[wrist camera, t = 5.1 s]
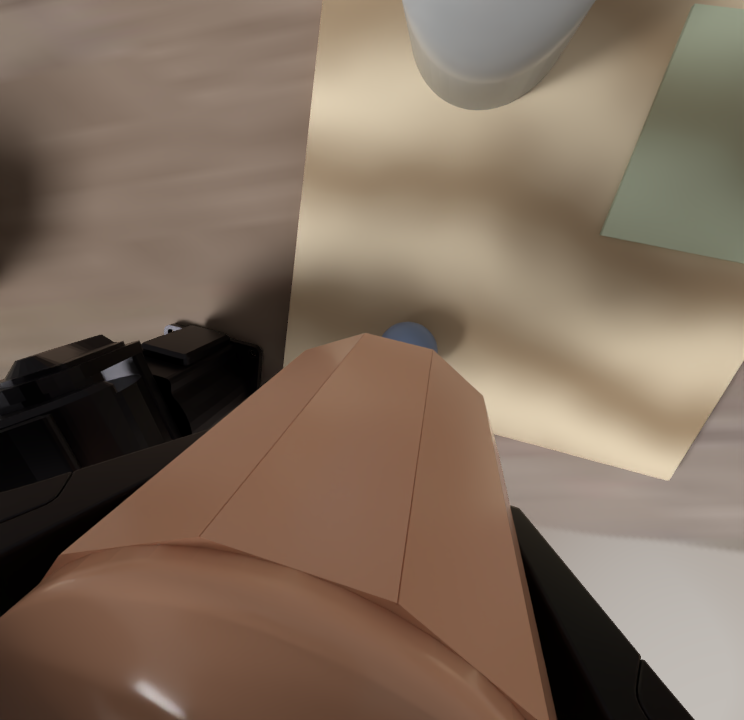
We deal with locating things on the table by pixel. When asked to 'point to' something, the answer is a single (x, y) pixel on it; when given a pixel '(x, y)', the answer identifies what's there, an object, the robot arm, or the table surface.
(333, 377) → the peach domed cylinder
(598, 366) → the birch board
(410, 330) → the blue ellipsoid
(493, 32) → the grey rounded piece
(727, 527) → the table surface
